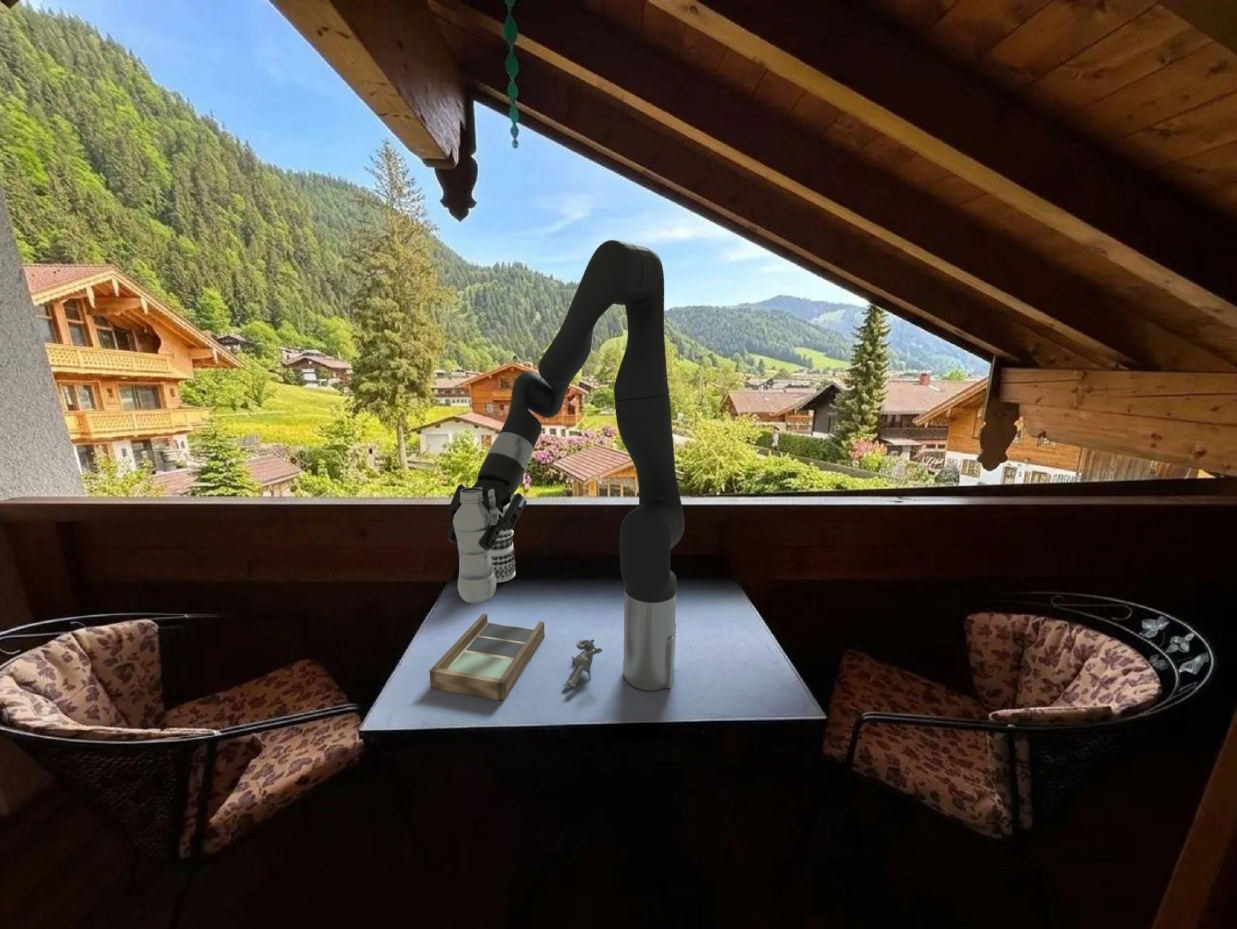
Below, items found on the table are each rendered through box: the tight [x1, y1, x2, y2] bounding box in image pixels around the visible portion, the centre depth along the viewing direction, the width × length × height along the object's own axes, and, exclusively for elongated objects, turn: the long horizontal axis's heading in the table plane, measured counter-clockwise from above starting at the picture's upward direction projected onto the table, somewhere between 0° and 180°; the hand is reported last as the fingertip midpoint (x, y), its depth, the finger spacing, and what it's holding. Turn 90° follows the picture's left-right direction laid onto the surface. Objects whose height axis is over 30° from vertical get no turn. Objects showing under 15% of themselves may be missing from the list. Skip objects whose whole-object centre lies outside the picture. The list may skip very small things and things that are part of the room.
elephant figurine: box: [563, 639, 603, 690], centre depth 84 cm, size 10×6×9 cm
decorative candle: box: [490, 503, 516, 584], centre depth 121 cm, size 9×9×25 cm
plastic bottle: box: [452, 486, 497, 604], centre depth 79 cm, size 6×7×20 cm
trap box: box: [428, 613, 546, 702], centre depth 89 cm, size 14×19×4 cm
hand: (467, 544), depth 78 cm, fingers closed on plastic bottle, 6 cm apart
